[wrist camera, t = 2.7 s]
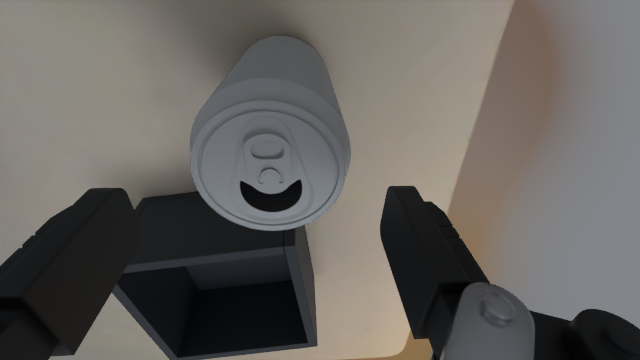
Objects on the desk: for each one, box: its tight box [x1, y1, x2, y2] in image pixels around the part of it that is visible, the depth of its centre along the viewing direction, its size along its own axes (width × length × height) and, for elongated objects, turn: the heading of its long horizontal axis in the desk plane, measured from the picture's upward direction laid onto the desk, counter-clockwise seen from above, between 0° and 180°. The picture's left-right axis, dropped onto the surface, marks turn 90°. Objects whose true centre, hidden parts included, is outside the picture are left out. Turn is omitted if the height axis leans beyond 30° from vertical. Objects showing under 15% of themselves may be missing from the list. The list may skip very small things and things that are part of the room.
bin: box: [112, 192, 317, 360], centre depth 26 cm, size 14×14×8 cm
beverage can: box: [190, 36, 351, 231], centre depth 16 cm, size 6×6×12 cm
